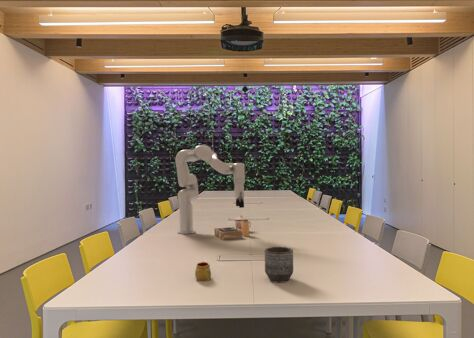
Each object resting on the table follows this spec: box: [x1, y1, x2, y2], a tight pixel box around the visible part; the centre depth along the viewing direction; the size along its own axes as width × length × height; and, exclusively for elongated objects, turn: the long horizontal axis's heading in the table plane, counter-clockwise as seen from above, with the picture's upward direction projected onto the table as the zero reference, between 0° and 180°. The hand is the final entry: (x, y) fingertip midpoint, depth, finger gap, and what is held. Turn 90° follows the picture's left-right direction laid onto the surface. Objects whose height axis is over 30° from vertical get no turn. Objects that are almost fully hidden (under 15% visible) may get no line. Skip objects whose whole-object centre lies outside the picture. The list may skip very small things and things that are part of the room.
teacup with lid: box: [234, 214, 252, 230], centre depth 286 cm, size 12×9×12 cm
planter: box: [264, 246, 294, 283], centre depth 169 cm, size 12×12×13 cm
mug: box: [194, 261, 212, 282], centre depth 174 cm, size 12×7×7 cm, turn 177°
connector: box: [241, 219, 250, 237], centre depth 269 cm, size 4×4×11 cm
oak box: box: [213, 226, 243, 241], centre depth 266 cm, size 17×14×6 cm
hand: (240, 206), depth 265 cm, fingers open, 9 cm apart
